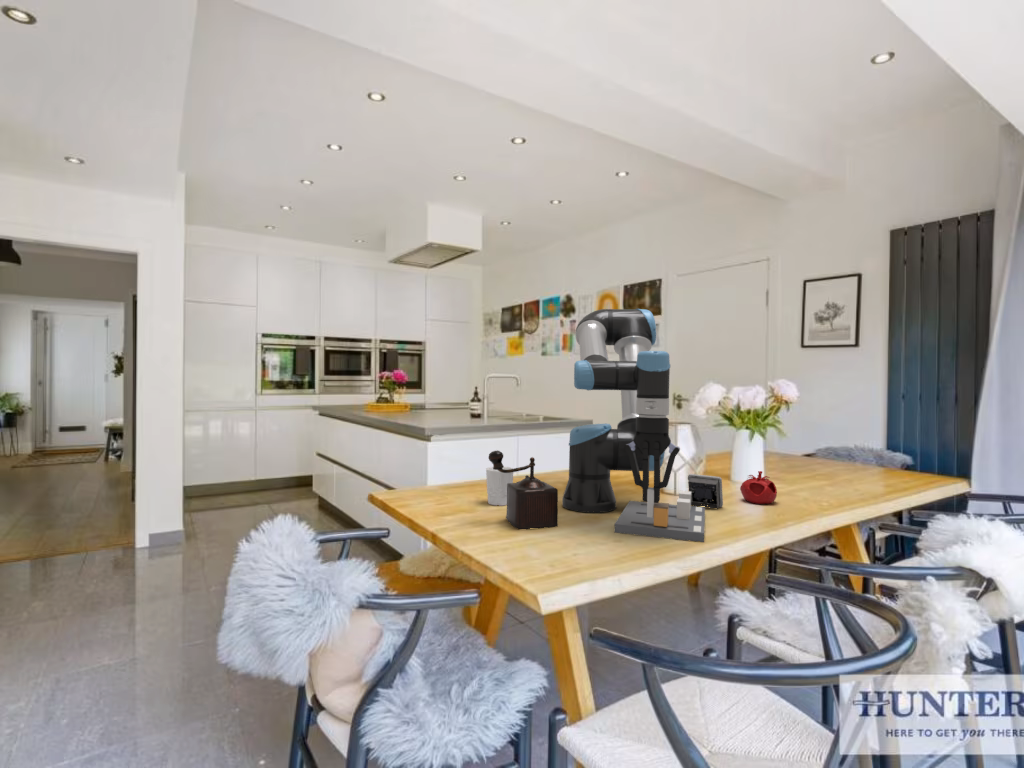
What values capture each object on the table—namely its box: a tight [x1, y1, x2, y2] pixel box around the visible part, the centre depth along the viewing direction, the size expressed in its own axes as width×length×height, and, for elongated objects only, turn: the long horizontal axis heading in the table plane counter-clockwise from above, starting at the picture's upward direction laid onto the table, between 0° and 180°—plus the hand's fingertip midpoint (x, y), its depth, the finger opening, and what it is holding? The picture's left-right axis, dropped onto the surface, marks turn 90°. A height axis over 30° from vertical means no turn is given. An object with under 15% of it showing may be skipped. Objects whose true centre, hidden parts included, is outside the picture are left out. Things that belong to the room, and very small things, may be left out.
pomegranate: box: [739, 471, 778, 505], centre depth 161 cm, size 10×10×9 cm
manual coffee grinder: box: [488, 449, 559, 530], centre depth 134 cm, size 16×11×18 cm
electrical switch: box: [687, 473, 724, 510], centre depth 154 cm, size 9×5×9 cm, turn 57°
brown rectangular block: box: [654, 501, 670, 527], centre depth 127 cm, size 3×4×5 cm
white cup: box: [485, 466, 514, 507], centre depth 156 cm, size 8×8×10 cm
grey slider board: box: [614, 490, 706, 543], centre depth 136 cm, size 20×26×6 cm
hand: (650, 515), depth 127 cm, fingers closed
